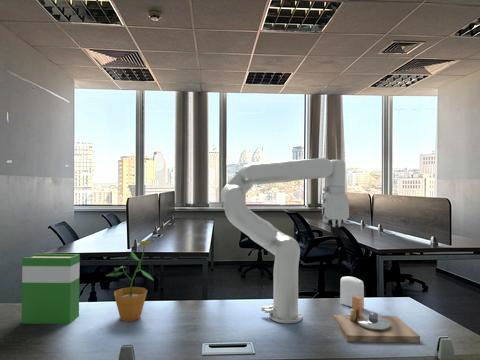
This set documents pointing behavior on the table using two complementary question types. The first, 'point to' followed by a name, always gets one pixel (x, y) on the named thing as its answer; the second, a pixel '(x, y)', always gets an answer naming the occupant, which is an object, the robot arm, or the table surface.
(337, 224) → the robot arm
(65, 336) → the table surface
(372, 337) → the walnut board
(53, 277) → the hardback book
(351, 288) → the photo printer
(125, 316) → the potted plant
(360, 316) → the flange plate
